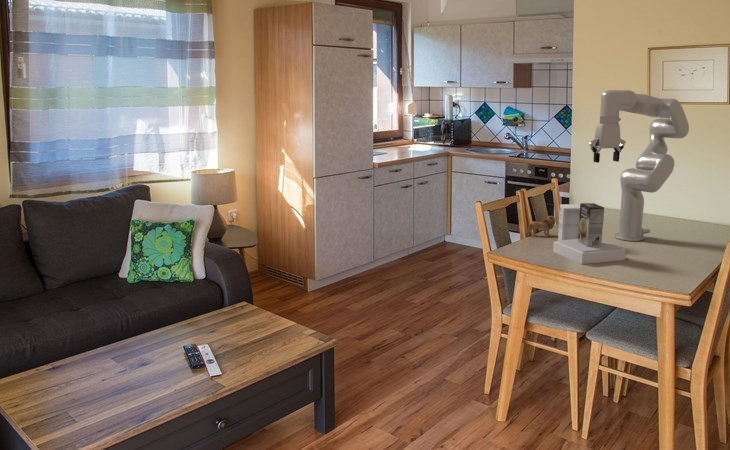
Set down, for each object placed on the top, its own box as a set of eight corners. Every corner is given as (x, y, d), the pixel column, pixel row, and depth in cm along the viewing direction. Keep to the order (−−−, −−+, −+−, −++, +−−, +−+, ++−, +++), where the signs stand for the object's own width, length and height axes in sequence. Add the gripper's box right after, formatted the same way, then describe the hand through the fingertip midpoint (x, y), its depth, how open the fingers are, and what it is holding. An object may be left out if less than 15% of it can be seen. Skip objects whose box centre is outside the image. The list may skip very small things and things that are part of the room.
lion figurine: (551, 233, 311) (552, 214, 309) (557, 235, 306) (558, 216, 304) (522, 235, 308) (523, 216, 306) (528, 237, 303) (529, 218, 301)
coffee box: (577, 241, 275) (579, 203, 271) (591, 240, 276) (594, 202, 272) (586, 246, 266) (589, 207, 263) (602, 246, 267) (604, 206, 263)
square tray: (593, 248, 284) (594, 236, 283) (624, 259, 265) (625, 247, 264) (553, 251, 278) (553, 240, 277) (581, 264, 260) (582, 251, 259)
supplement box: (579, 241, 296) (581, 204, 292) (583, 246, 287) (586, 208, 283) (557, 240, 297) (559, 203, 293) (561, 245, 288) (563, 207, 284)
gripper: (620, 120, 284) (617, 159, 288) (585, 121, 279) (583, 161, 283) (632, 121, 277) (629, 161, 281) (597, 122, 272) (594, 163, 276)
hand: (606, 161), depth 282 cm, fingers open, 9 cm apart
